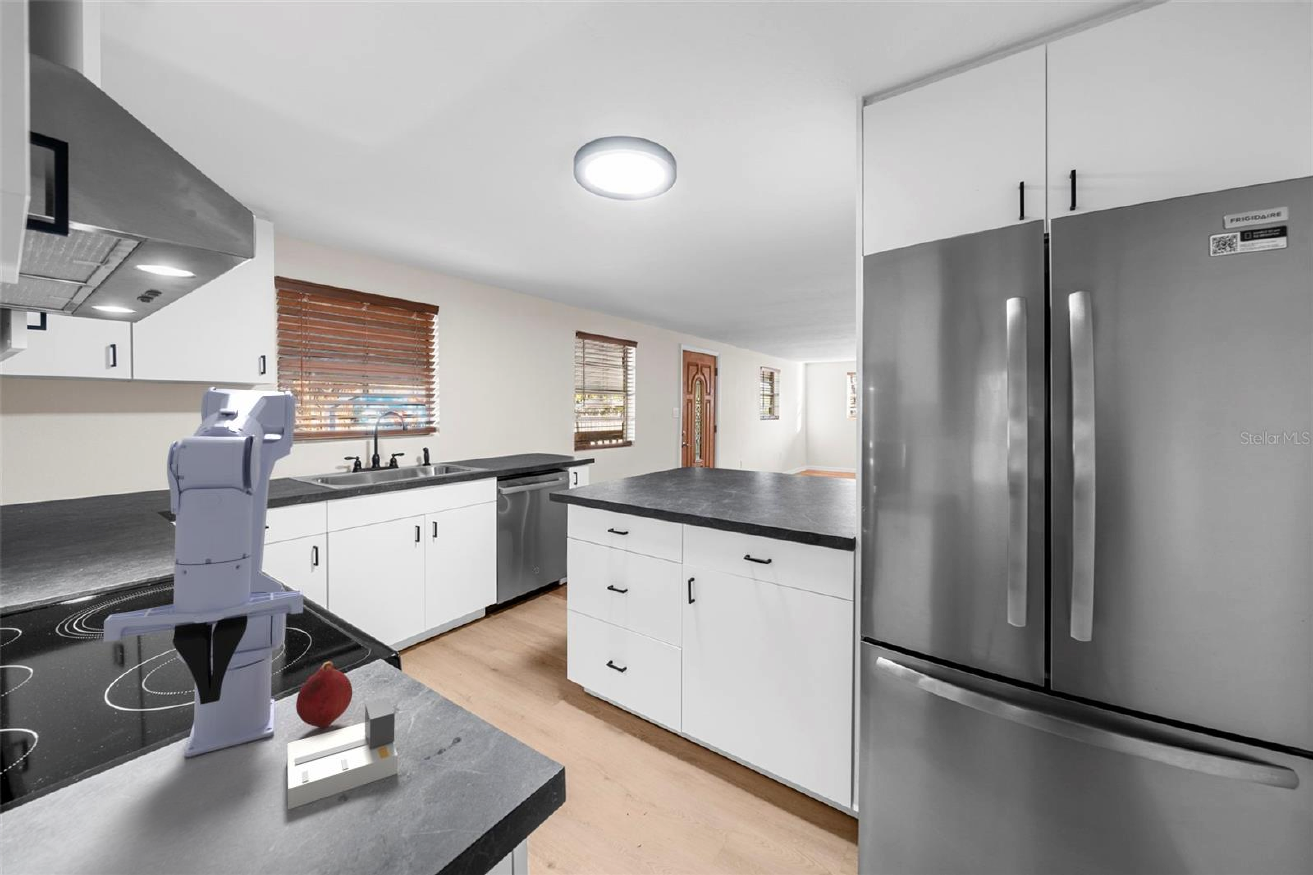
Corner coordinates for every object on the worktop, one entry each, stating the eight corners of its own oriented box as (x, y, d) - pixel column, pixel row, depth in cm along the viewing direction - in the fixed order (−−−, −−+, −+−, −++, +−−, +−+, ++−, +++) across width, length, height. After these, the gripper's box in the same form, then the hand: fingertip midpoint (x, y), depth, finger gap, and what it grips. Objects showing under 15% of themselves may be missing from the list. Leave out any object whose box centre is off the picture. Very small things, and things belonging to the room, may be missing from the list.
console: (286, 761, 57) (287, 742, 57) (383, 733, 63) (384, 716, 63) (287, 809, 50) (288, 788, 50) (397, 773, 56) (397, 754, 56)
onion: (324, 744, 61) (325, 676, 61) (283, 737, 62) (284, 670, 62) (362, 718, 66) (363, 655, 66) (323, 712, 68) (325, 651, 68)
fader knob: (364, 731, 60) (365, 703, 60) (388, 725, 61) (388, 697, 61) (369, 748, 56) (370, 719, 56) (394, 741, 58) (394, 712, 58)
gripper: (95, 577, 43) (90, 742, 43) (305, 557, 52) (302, 694, 51) (116, 562, 49) (112, 707, 49) (302, 545, 57) (300, 669, 57)
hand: (210, 698), depth 50 cm, fingers closed
